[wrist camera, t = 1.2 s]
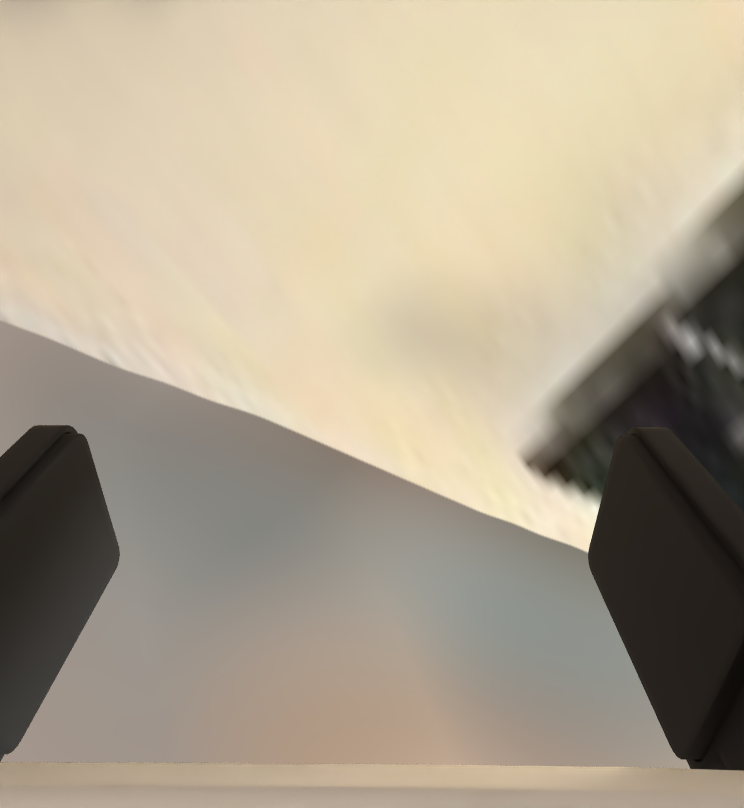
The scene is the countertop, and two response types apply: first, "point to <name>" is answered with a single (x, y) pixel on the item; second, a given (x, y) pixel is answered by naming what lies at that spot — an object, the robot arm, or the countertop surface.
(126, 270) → the countertop surface
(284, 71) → the countertop surface
